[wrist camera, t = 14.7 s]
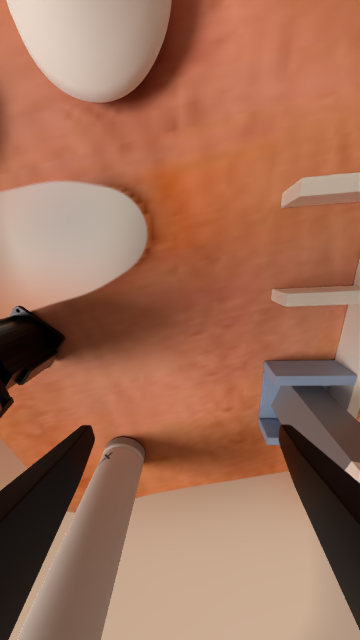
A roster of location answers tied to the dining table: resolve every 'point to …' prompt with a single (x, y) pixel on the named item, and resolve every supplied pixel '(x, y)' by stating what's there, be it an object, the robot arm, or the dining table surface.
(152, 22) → the flower in vase
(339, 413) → the grey tall block
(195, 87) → the dining table surface
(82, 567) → the travel mug
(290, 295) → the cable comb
